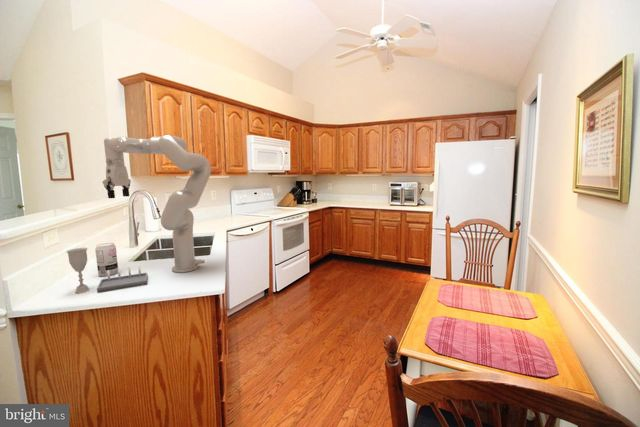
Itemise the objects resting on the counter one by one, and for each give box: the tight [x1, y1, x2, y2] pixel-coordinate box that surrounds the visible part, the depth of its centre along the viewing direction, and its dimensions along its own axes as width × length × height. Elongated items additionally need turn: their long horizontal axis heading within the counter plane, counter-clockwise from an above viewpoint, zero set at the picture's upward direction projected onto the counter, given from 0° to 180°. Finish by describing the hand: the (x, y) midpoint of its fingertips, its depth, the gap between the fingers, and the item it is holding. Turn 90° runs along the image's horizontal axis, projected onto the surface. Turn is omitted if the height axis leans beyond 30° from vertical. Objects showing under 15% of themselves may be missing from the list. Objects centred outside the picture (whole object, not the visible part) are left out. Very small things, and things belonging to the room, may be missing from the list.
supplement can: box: [95, 242, 119, 277], centre depth 146 cm, size 8×8×15 cm
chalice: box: [65, 247, 91, 294], centre depth 125 cm, size 7×7×18 cm
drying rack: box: [96, 265, 149, 294], centre depth 133 cm, size 18×12×6 cm, turn 119°
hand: (119, 197), depth 152 cm, fingers open, 9 cm apart
